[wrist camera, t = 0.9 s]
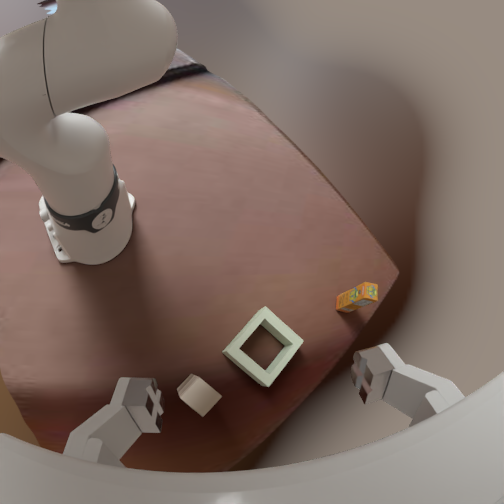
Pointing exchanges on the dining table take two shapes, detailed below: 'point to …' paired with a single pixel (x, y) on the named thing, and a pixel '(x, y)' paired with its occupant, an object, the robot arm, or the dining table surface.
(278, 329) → the block
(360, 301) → the supplement box
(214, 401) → the peg
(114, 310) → the dining table surface
